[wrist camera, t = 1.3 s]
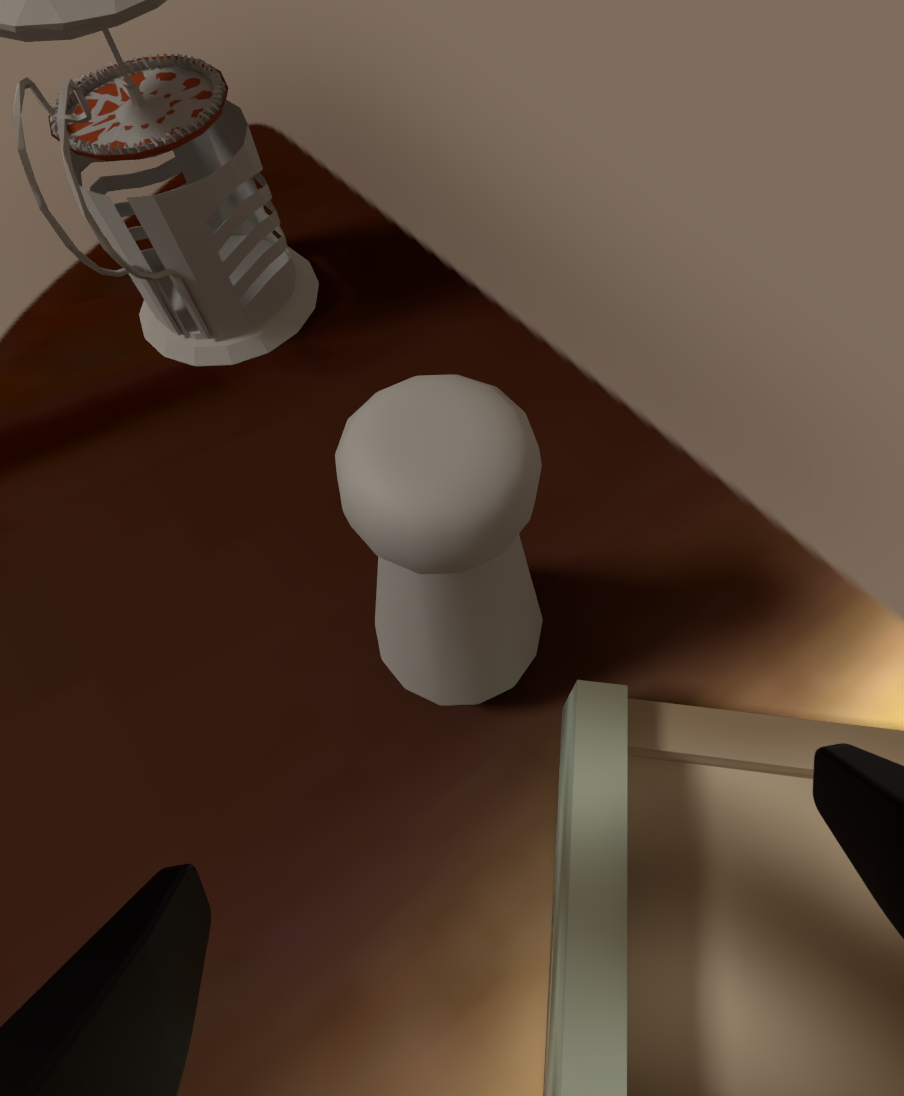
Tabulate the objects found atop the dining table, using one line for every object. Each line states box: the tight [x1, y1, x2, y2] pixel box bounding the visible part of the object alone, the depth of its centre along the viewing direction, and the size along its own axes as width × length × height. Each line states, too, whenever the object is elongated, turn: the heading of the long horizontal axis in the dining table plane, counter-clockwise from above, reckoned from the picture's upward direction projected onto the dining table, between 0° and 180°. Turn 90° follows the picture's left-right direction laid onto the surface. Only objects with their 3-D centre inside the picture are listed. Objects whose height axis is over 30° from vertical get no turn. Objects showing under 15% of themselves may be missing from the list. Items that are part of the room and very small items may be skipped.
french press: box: [0, 0, 319, 366], centre depth 21 cm, size 10×12×25 cm
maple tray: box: [543, 680, 904, 1096], centre depth 17 cm, size 12×12×4 cm
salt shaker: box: [335, 375, 543, 706], centre depth 17 cm, size 6×6×13 cm
